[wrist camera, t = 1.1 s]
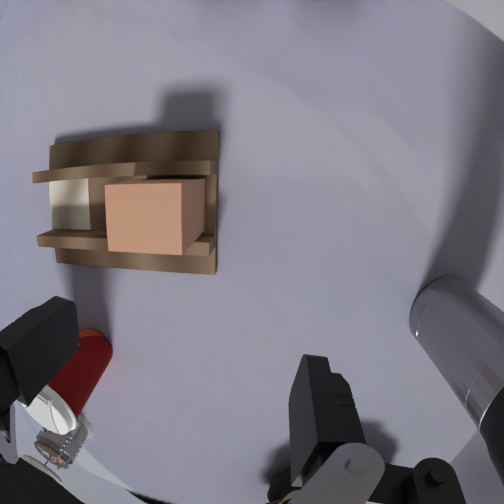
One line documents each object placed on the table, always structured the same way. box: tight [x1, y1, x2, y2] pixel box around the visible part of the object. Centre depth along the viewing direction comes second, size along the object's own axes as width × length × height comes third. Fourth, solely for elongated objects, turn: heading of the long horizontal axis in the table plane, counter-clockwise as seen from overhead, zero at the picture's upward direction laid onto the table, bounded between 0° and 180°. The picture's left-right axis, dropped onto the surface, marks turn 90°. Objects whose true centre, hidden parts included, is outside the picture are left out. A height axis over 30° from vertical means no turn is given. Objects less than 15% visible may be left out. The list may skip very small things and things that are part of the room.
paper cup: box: [22, 329, 113, 435], centre depth 28 cm, size 8×8×14 cm
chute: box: [33, 131, 219, 275], centre depth 27 cm, size 20×14×4 cm
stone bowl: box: [266, 468, 303, 504], centre depth 38 cm, size 25×25×9 cm
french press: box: [22, 414, 94, 485], centre depth 29 cm, size 10×12×25 cm
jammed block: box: [105, 178, 205, 255], centre depth 24 cm, size 6×5×8 cm
